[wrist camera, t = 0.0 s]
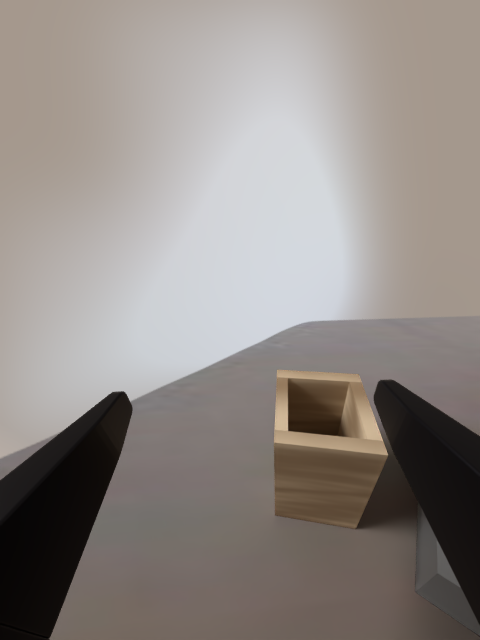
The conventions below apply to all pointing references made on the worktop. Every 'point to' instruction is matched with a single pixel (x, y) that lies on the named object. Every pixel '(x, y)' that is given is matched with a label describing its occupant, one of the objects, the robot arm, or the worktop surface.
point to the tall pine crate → (324, 447)
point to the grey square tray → (439, 577)
